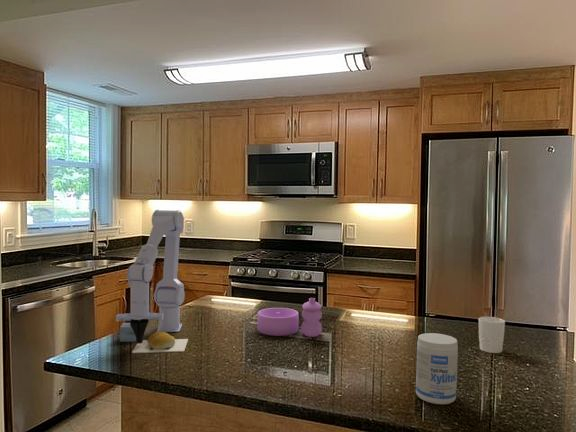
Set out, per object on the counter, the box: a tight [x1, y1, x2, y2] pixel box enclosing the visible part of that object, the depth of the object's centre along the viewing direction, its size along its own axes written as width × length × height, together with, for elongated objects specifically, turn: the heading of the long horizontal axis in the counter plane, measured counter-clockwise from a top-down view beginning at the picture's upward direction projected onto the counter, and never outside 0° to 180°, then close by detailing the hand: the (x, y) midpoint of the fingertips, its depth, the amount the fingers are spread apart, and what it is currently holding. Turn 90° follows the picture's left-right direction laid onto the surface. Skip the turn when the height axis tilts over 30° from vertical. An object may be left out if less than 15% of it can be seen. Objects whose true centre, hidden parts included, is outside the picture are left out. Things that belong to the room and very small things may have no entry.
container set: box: [256, 297, 323, 338], centre depth 164 cm, size 25×15×13 cm, turn 64°
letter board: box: [131, 338, 189, 354], centre depth 146 cm, size 12×16×1 cm
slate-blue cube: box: [119, 322, 137, 343], centre depth 153 cm, size 5×5×5 cm
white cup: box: [478, 316, 506, 354], centre depth 146 cm, size 8×8×10 cm
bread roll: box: [147, 331, 176, 349], centre depth 146 cm, size 8×9×4 cm
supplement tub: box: [415, 332, 459, 405], centre depth 110 cm, size 10×10×15 cm
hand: (139, 342), depth 145 cm, fingers closed
